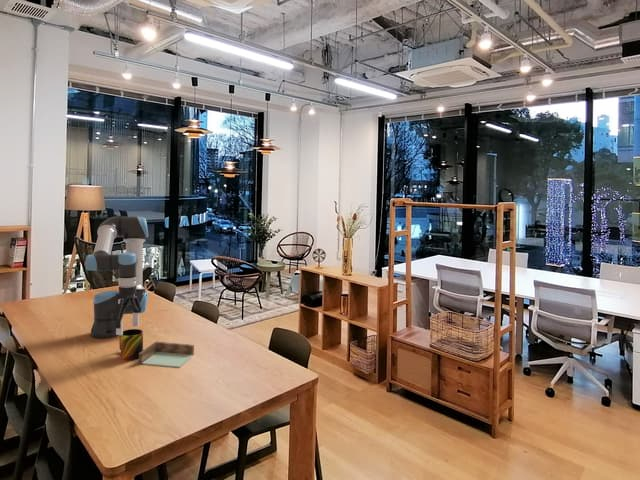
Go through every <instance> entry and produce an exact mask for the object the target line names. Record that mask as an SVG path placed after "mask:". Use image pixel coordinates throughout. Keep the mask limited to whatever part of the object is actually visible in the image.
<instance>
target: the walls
mask: <svg viewBox="0 0 640 480" xmlns="http://www.w3.org/2000/svg"><path fill="white" fill-rule="evenodd" d="M156 352H166V353H178V354H189V355H193V356H194V355H195V344H189V343H187V344H186V343H176V342H174V343H173V342H166V341H165V342H163V341H154V342H153V343H152V344H151V345H149V346H148V347H146V348H145V349H143V351H142V352H140V353H139V359H138V365H143V364H142V363H143V362H144V361H146V360H147V359H148V358H150V357H151V356H152V355H154V354H155V353H156Z"/></svg>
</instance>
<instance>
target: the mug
mask: <svg viewBox="0 0 640 480" xmlns="http://www.w3.org/2000/svg"><path fill="white" fill-rule="evenodd" d="M119 350H120V360H121V361H125V362H130V361H131V362H133V361H137V360H138V361H139V353H140V352H142V351H143V350H144V330H142V329H139V328H132V329H130V328H129V329H125V330H123V335H119Z"/></svg>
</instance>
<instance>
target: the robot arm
mask: <svg viewBox="0 0 640 480" xmlns="http://www.w3.org/2000/svg"><path fill="white" fill-rule="evenodd" d="M147 222H148V221H147V219H146V218H145V217H143V216H119V215H116V216H111V217H109V218H107V219H105V220H104V221H103V222H101V224H100V225H99V226H98V228H97V240H96V242H95V247H94V250H93V253H92V254H88V255H86V256H85V267H86V268H85V269H86V270H87V271H95V272H97V271H98V272H99V271H118V281H117V282H118V290H117V289H107V290H105V291H103V290H102V291H100V292H98V293H95V295H94V297H93V323H92V327H91V330H90V336H91V337H92V338H94V339H109V338H113V337H114V338H115V337H118V336H120V335H123V331H124V330H123V328H124V327H123V321H124V320H123V317H124V315H132V327H139V326H140V323H139V322H140V321H139V320H140V318H139V317H140V315H139V314H144V313H145V312H146V310H147V306H148V305H147V304H148V298H149V292H148V291H146V288H145V287H144V286H143V271H144V270H143V269H144V268H143V263H144V262H143V261H144V260H143V259H144V258H143V255H144V254H143V253H144V250H143V249H144V247H143V245H144V243H145V242H146V239H147V238H149V231H148V223H147ZM116 238H122V239H123V240H122V241H123V242H124V243H125V252H121V253H118V254H112V250H113V249H112V248H113V245H114V240H115V239H116Z"/></svg>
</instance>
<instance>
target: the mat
mask: <svg viewBox="0 0 640 480" xmlns="http://www.w3.org/2000/svg"><path fill="white" fill-rule="evenodd" d="M192 357H194V355H189V354H178V353H166V352H156V353H155V354H154V355H152V356H151V357H150V358H148V359H147V360H146V361H144V362H143V363H142V364H141V365H146V366H147V365H148V366H155V367H156V366H157V367H166V368H167V367H168V368H180V369H181V367H182V366H184V365H185V364H186V362H188V361H189V360H190V359H191V358H192Z"/></svg>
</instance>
